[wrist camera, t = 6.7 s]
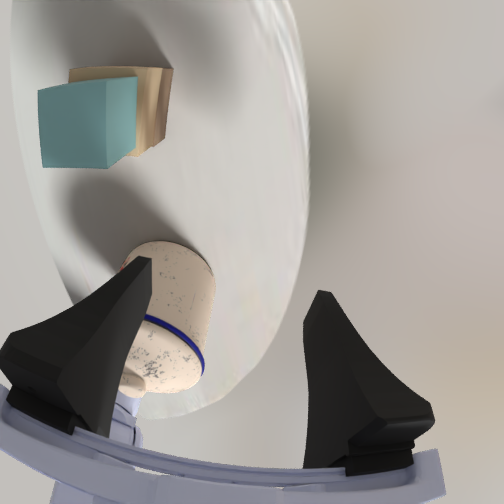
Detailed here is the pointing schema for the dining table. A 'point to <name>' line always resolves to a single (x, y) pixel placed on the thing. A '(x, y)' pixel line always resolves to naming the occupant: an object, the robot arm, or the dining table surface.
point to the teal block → (87, 122)
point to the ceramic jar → (170, 322)
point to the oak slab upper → (145, 96)
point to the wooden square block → (162, 106)
